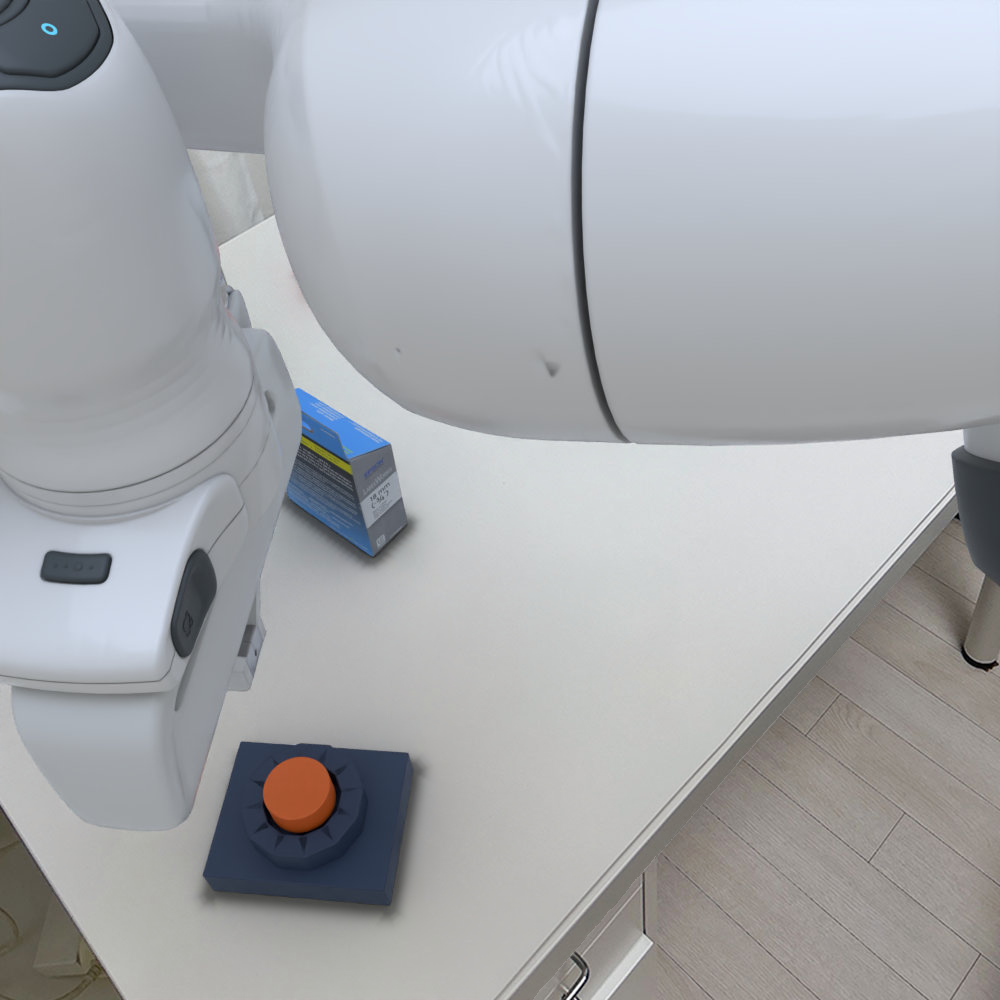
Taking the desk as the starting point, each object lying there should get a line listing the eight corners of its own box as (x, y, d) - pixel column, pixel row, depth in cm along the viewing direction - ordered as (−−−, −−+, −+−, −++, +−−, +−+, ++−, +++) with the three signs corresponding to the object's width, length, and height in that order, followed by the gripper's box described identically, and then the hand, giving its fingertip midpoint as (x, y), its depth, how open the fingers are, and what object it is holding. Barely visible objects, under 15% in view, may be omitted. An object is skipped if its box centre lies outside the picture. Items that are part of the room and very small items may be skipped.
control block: (413, 769, 65) (404, 737, 61) (390, 906, 60) (378, 878, 56) (249, 757, 66) (232, 725, 63) (213, 890, 61) (192, 863, 58)
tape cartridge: (412, 524, 76) (385, 398, 67) (372, 560, 75) (339, 436, 65) (324, 466, 80) (286, 339, 71) (284, 499, 79) (241, 374, 69)
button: (342, 773, 61) (336, 758, 59) (328, 835, 59) (322, 822, 57) (279, 768, 61) (271, 754, 60) (263, 830, 59) (255, 817, 58)
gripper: (149, 258, 45) (232, 480, 55) (-66, 703, 32) (96, 882, 42) (300, 261, 44) (355, 485, 55) (144, 717, 31) (255, 895, 42)
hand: (241, 662), depth 48 cm, fingers closed
